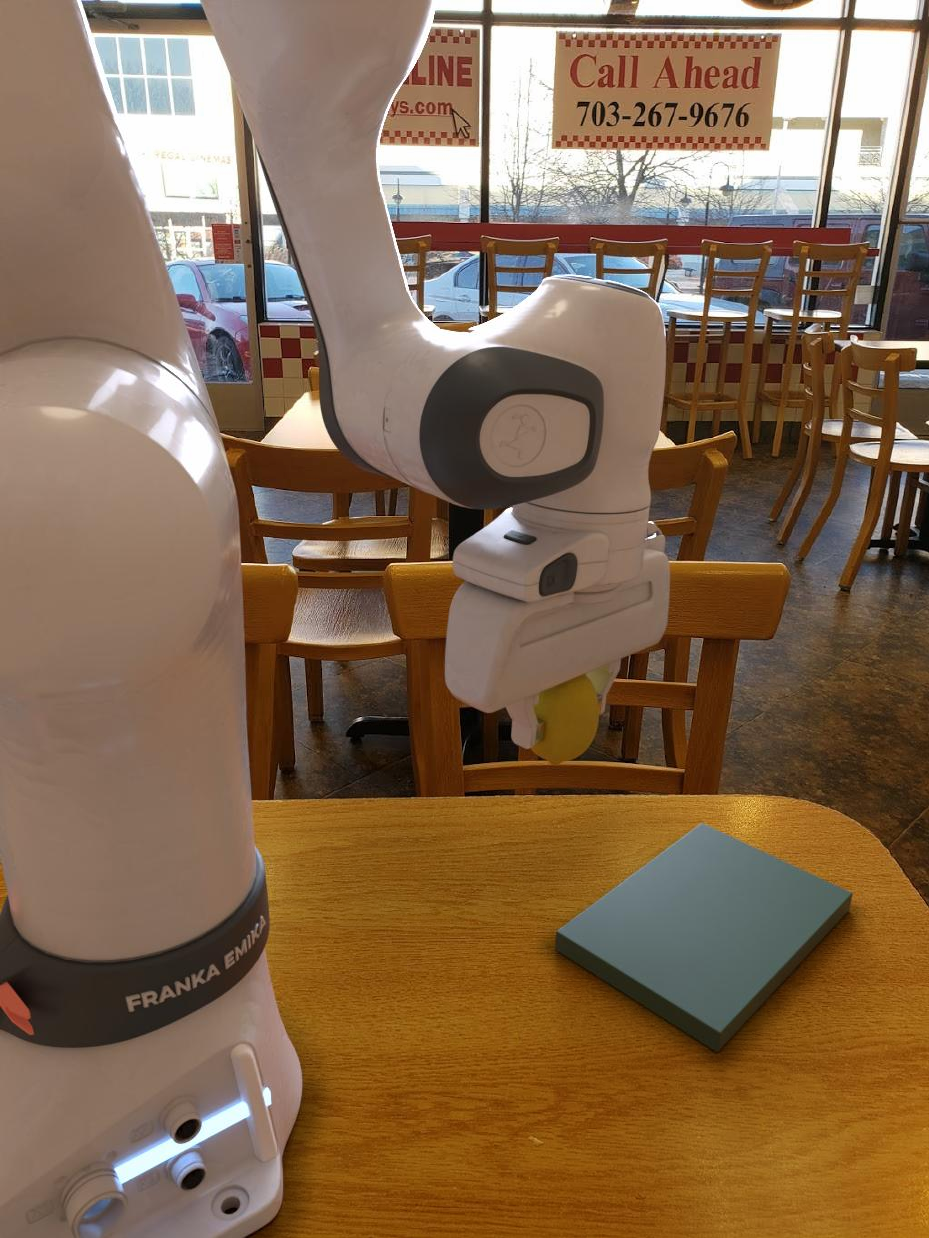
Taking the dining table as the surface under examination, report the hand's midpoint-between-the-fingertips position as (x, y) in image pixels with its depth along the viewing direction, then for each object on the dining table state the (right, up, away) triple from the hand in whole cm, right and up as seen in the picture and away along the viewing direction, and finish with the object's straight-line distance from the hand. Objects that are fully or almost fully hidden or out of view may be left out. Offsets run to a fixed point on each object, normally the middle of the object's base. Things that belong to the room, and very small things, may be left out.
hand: (558, 728), depth 67 cm
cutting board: (+10, -13, -3) cm, 17 cm away
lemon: (0, -3, +1) cm, 3 cm away
